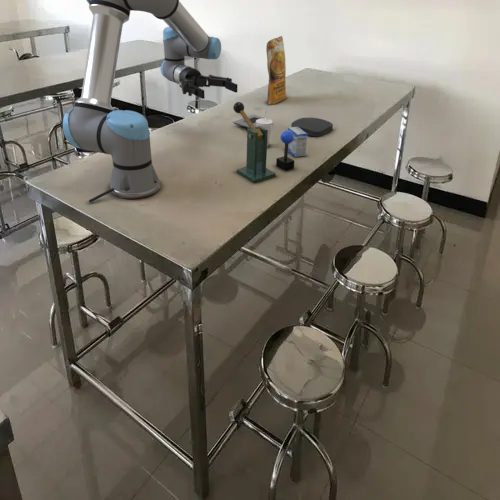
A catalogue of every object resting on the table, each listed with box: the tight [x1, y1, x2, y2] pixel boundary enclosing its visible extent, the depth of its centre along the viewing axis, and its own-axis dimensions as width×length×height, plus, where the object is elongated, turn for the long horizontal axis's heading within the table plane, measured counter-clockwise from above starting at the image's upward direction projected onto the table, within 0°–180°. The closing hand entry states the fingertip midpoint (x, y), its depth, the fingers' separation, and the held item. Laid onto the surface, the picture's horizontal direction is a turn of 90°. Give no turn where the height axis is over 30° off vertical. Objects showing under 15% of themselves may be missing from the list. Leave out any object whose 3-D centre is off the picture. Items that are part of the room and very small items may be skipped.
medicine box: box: [287, 126, 309, 158], centre depth 179 cm, size 8×4×9 cm, turn 23°
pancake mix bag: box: [265, 35, 287, 105], centre depth 227 cm, size 7×19×28 cm, turn 149°
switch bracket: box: [236, 126, 276, 184], centre depth 160 cm, size 10×9×16 cm
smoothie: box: [256, 108, 274, 148], centre depth 182 cm, size 6×6×14 cm
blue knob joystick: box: [275, 130, 295, 172], centre depth 166 cm, size 4×5×13 cm
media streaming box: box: [290, 117, 334, 137], centre depth 201 cm, size 15×15×3 cm
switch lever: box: [232, 101, 263, 140], centre depth 158 cm, size 15×4×4 cm
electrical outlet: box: [232, 114, 268, 129], centre depth 203 cm, size 13×10×2 cm
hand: (220, 91), depth 166 cm, fingers open, 13 cm apart
